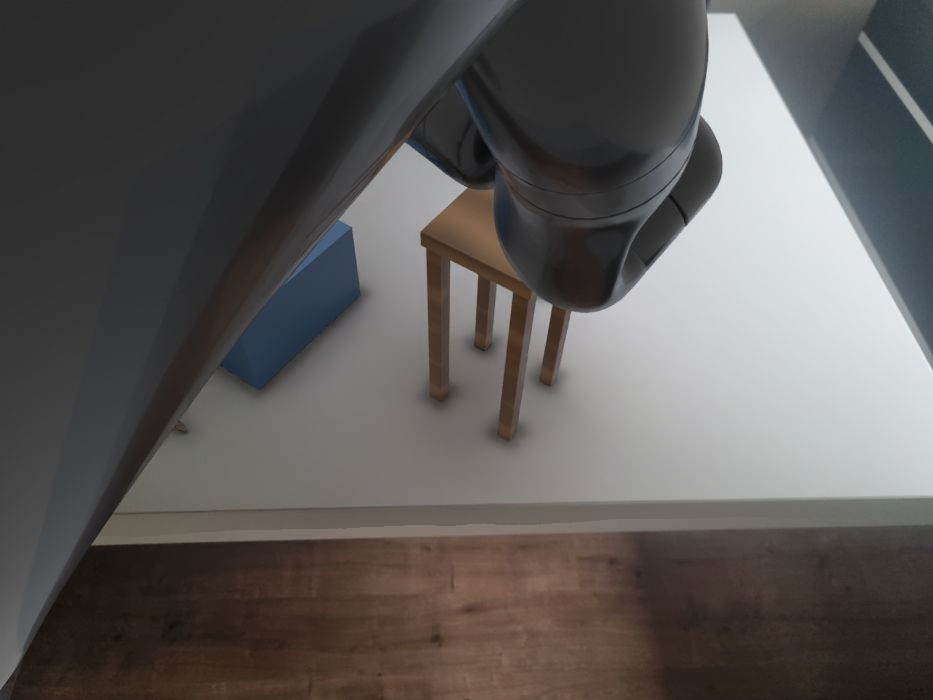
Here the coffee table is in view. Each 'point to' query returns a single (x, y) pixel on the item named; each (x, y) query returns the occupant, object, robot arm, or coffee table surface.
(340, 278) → the blue boxy block
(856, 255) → the coffee table surface
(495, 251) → the stool
